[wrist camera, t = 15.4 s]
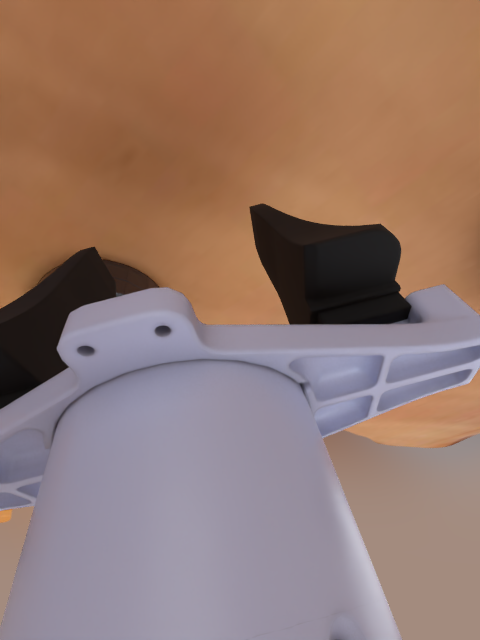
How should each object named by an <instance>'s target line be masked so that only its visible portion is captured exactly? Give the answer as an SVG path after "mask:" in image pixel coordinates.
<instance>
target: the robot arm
mask: <svg viewBox="0 0 480 640" xmlns="http://www.w3.org/2000/svg"><path fill="white" fill-rule="evenodd" d="M250 213H251V220H252V226H253V232H254V239H255V245H256V249H257V252H258V255H259V257H260V260H261V263H262V265H263V267H264V268H265V270H266V272H267V274H268V276H269V278H270V280H271V282H272V284H273V285H274V287H275V289H276V291H277V293H278V295H279V297H280V299H281V302H282V305H283V307H284V310H285V313H286V315H287V318H288V321H289V323H290V325H206V324H203V323H201V322H200V321H199V320H198V319H197V317H196V315H195V313H194V310H193V308H192V305H191V303H190V302H189V301H188V300H187V298H186V297H185V296H184V295H183V294H182V293H180V292H178V291H175V290H173V289H170V288H150V289H146V290H142V291H138V292H134V293H130V294H126V295H122V296H119V297H116V282H115V280H114V279H113V277H112V275H111V274H110V272H109V270H108V269H107V267H106V265H105V264H104V262H103V260H102V259H101V257H100V255H99V254H98V252H97V250H96V249H95V247H91V248H87V249H84V250H80V251H79V252H77V253H76V254H74V255H73V256H72V257H70V258H69V259H68V260H67V261H66V262H64V263H63V264H62V265H61V266H60V267H59V268H57V269H56V270H55V271H54V272H53V273H52V274H50V275H49V276H48V277H47V278H45V279H44V280H43V281H42V282H41V283H39V284H38V285H37V286H35V287H34V288H33V289H31V290H30V291H29V292H27V293H26V294H24V295H23V296H21V297H20V298H18V299H17V300H15V301H13V302H12V303H10V304H8V305H6V306H5V307H3V308H1V309H0V511H1V510H8V509H14V508H21V507H29V506H34V510H33V513H32V517H31V520H30V524H29V528H28V531H27V535H26V538H25V542H24V545H23V549H22V552H21V556H20V559H19V563H18V567H17V570H16V573H15V577H14V581H13V584H12V588H11V591H10V595H9V598H8V602H7V606H6V609H5V612H4V616H3V620H2V623H1V627H0V640H402V638H401V636H400V633H399V630H398V628H397V625H396V623H395V620H394V618H393V615H392V613H391V610H390V608H389V605H388V602H387V601H386V598H385V595H384V593H383V590H382V587H381V585H380V582H379V580H378V578H377V575H376V572H375V570H374V567H373V565H372V562H371V560H370V557H369V555H368V552H367V550H366V547H365V544H364V542H363V539H362V537H361V534H360V532H359V529H358V527H357V524H356V522H355V519H354V517H353V514H352V512H351V509H350V507H349V504H348V502H347V499H346V497H345V494H344V492H343V489H342V487H341V484H340V482H339V479H338V476H337V474H336V472H335V469H334V466H333V464H332V461H331V459H330V456H329V454H328V451H327V449H326V446H325V444H324V441H323V439H322V438H325V437H327V436H329V435H332V434H334V433H337V432H339V431H341V430H344V429H346V428H349V427H351V426H353V425H356V424H358V423H361V422H363V421H365V420H368V419H370V418H373V417H375V416H377V415H380V414H382V413H385V412H387V411H389V410H392V409H394V408H397V407H399V406H402V405H404V404H407V403H409V402H412V401H415V400H417V399H420V398H423V397H426V396H429V395H432V394H435V393H437V392H440V391H444V390H447V389H451V388H454V387H458V386H461V385H465V384H468V383H469V382H470V381H471V380H472V378H473V377H474V375H475V374H476V372H477V371H478V369H479V368H480V315H479V314H478V313H477V312H475V311H474V310H473V309H472V308H471V307H470V306H468V305H467V304H466V303H465V302H464V301H463V300H462V299H460V298H459V297H458V296H457V295H456V294H455V293H453V292H452V291H451V290H450V289H449V288H448V287H447V286H445V285H444V284H443V285H438V286H434V287H430V288H427V289H423V290H419V291H415V292H413V293H411V294H409V295H408V296H407V297H406V298H405V299H404V298H403V296H402V295H401V294H400V293H399V291H400V289H401V288H400V285H399V284H398V283H397V282H396V281H395V277H396V273H397V269H398V265H399V261H400V256H401V247H400V243H399V241H398V239H397V238H396V237H395V236H394V235H393V234H392V233H391V232H390V231H388V230H387V229H386V228H385V227H384V226H382V225H381V224H373V225H362V226H335V225H326V224H319V223H314V222H309V221H305V220H302V219H299V218H296V217H293V216H290V215H288V214H285V213H283V212H281V211H278V210H276V209H274V208H272V207H270V206H268V205H266V204H259V205H255V206H251V207H250Z"/></svg>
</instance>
